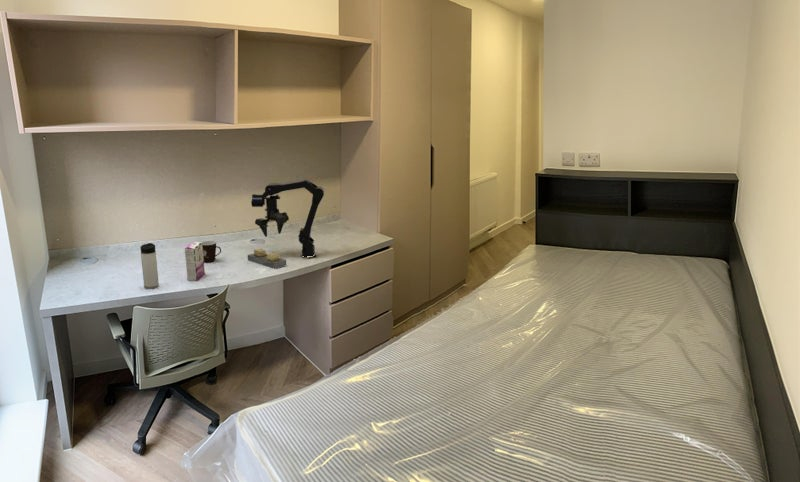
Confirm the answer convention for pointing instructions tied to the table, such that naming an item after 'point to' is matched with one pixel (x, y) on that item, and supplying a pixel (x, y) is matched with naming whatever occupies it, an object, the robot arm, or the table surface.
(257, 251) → the seated nut
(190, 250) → the candy bar box
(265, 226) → the robot arm
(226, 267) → the table surface
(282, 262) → the grey slotted base
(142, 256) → the travel mug
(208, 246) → the coffee mug
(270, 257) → the tan wooden block
